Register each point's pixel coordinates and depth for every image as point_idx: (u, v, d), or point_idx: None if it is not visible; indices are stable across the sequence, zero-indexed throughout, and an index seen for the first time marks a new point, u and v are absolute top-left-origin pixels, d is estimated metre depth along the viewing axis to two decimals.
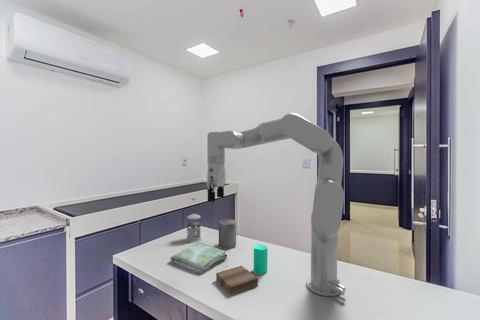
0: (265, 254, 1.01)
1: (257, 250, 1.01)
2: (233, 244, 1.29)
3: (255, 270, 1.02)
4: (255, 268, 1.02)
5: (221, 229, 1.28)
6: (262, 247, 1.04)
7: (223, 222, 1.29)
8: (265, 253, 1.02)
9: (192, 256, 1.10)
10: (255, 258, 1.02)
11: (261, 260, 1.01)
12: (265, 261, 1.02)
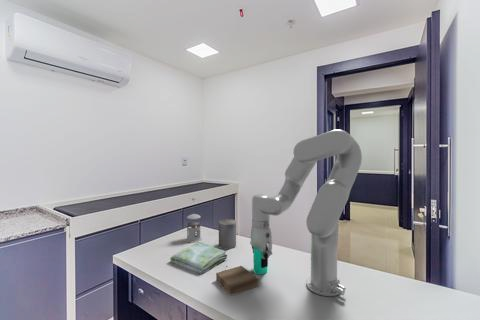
0: None
1: (257, 250, 1.01)
2: (233, 244, 1.29)
3: (255, 270, 1.02)
4: (255, 268, 1.02)
5: (221, 229, 1.28)
6: None
7: (223, 222, 1.29)
8: (265, 253, 1.02)
9: (192, 256, 1.09)
10: (255, 258, 1.02)
11: None
12: None
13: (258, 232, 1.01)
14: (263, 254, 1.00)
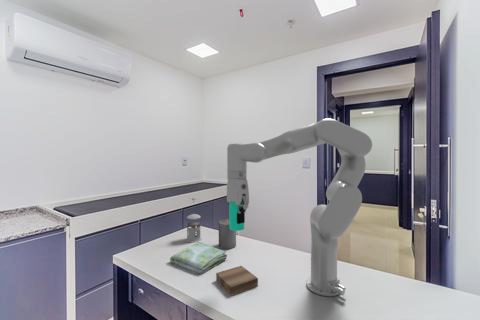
0: None
1: (232, 204, 0.91)
2: (233, 244, 1.29)
3: (230, 227, 0.92)
4: (230, 225, 0.92)
5: (221, 229, 1.28)
6: None
7: (223, 222, 1.29)
8: None
9: (192, 256, 1.09)
10: (230, 213, 0.91)
11: None
12: None
13: (233, 184, 0.90)
14: (239, 208, 0.89)
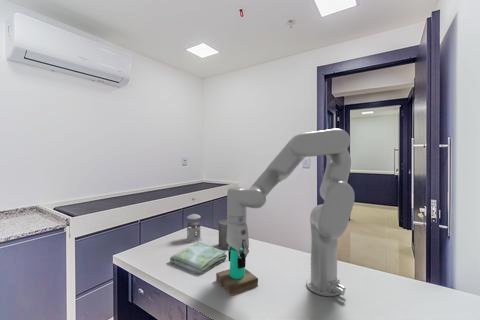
0: None
1: (234, 252, 0.91)
2: None
3: (231, 274, 0.92)
4: (231, 272, 0.92)
5: (221, 229, 1.28)
6: None
7: (223, 222, 1.29)
8: None
9: (192, 256, 1.09)
10: (231, 261, 0.92)
11: None
12: None
13: (233, 229, 0.91)
14: (239, 253, 0.89)
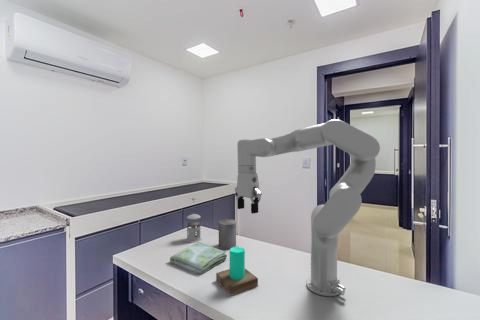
0: (242, 257, 0.91)
1: (233, 253, 0.91)
2: (233, 244, 1.29)
3: (231, 275, 0.92)
4: (231, 273, 0.92)
5: (221, 229, 1.28)
6: (239, 249, 0.94)
7: (223, 222, 1.29)
8: (242, 256, 0.91)
9: (192, 256, 1.09)
10: (231, 262, 0.92)
11: (237, 264, 0.91)
12: (242, 265, 0.92)
13: (244, 178, 0.95)
14: (252, 198, 0.93)
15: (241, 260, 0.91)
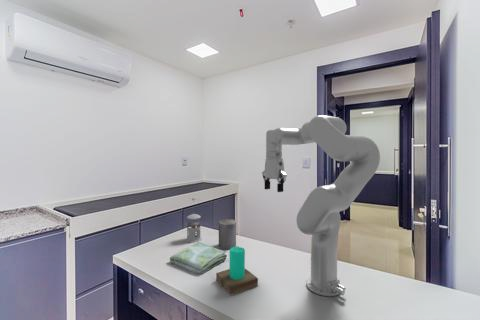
0: (242, 257, 0.91)
1: (233, 253, 0.91)
2: (233, 244, 1.29)
3: (231, 275, 0.92)
4: (231, 273, 0.92)
5: (221, 229, 1.28)
6: (239, 249, 0.94)
7: (223, 222, 1.29)
8: (242, 256, 0.92)
9: (192, 256, 1.09)
10: (231, 262, 0.92)
11: (237, 264, 0.91)
12: (242, 265, 0.92)
13: (271, 162, 1.13)
14: (278, 179, 1.11)
15: (241, 260, 0.91)
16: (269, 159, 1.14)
